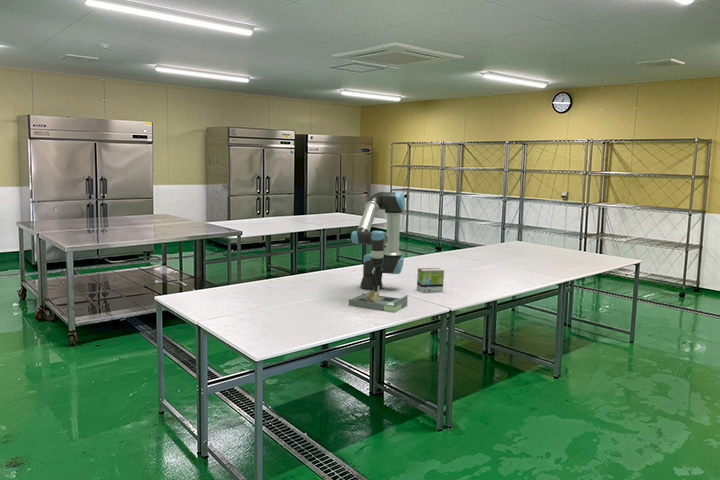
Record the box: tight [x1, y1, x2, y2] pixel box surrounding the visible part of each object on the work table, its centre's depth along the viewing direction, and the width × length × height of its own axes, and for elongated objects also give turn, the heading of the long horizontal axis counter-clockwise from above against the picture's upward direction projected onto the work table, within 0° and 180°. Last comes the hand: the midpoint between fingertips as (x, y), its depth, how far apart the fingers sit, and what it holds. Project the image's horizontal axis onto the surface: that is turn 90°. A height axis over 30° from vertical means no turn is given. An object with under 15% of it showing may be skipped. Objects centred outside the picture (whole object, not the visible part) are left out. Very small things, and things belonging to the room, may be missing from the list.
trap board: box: [348, 293, 409, 313], centre depth 330 cm, size 30×18×6 cm, turn 63°
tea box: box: [416, 267, 445, 293], centre depth 370 cm, size 15×10×15 cm
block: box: [366, 290, 380, 302], centre depth 329 cm, size 6×6×6 cm
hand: (376, 296), depth 331 cm, fingers closed
